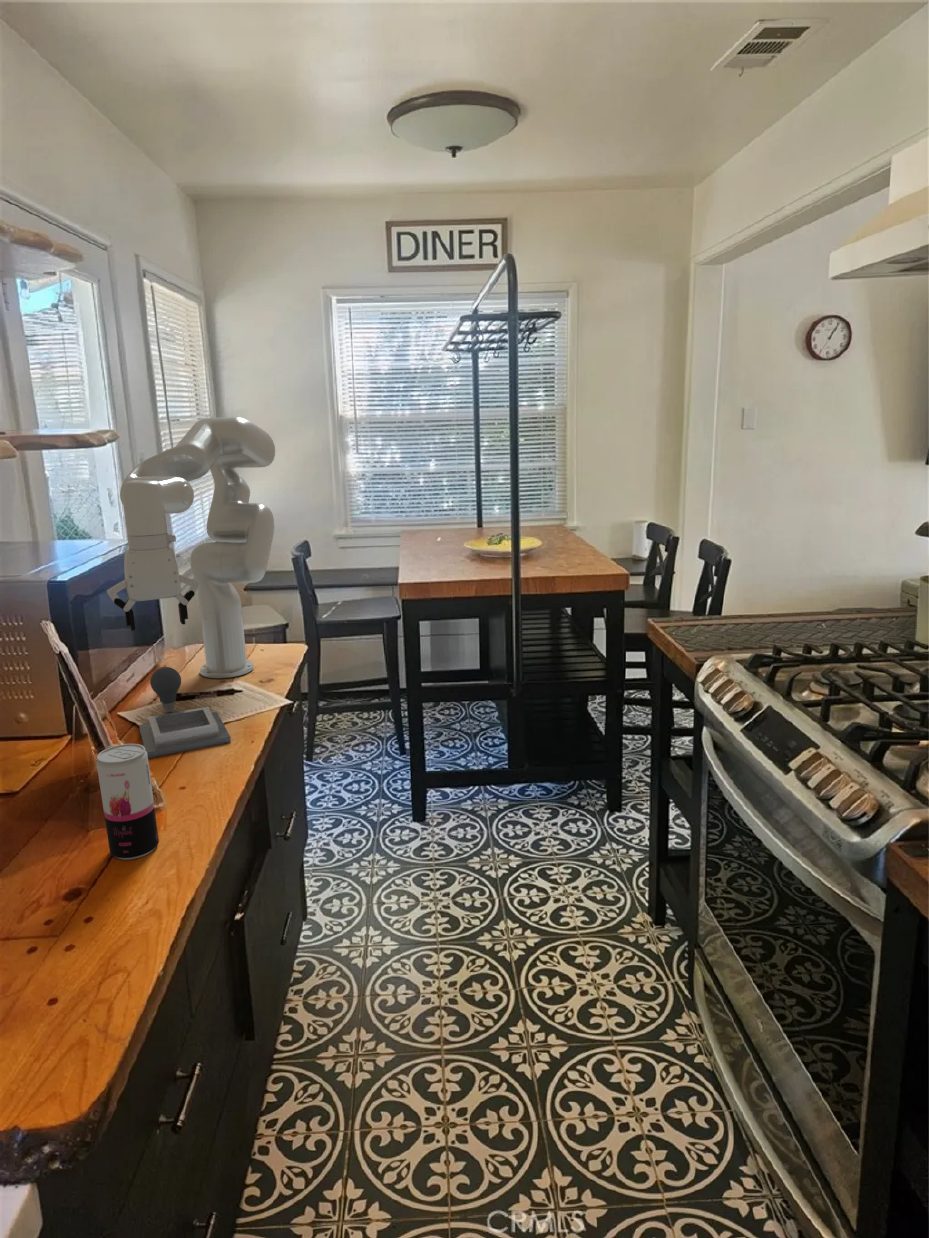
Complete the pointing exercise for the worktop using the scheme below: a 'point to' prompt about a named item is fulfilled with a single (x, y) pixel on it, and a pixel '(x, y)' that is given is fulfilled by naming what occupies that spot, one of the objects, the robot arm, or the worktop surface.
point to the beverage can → (127, 801)
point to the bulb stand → (183, 732)
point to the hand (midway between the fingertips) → (158, 626)
